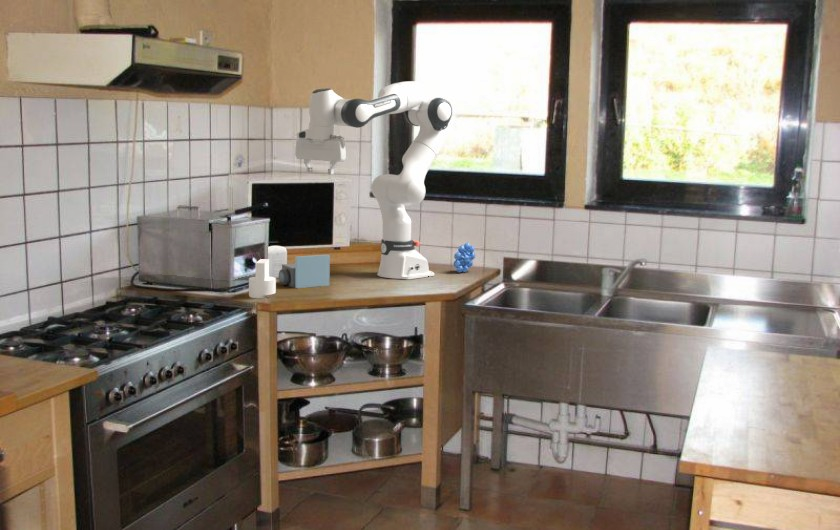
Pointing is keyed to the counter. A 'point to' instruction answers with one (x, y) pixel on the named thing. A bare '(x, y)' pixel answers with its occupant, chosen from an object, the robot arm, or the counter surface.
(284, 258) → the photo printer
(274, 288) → the base with upright slab
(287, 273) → the camera body
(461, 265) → the grapes
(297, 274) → the side door
